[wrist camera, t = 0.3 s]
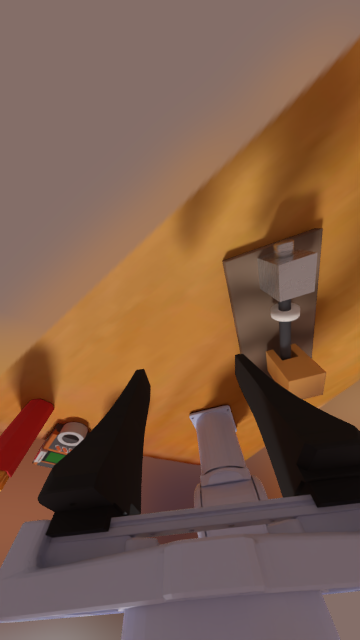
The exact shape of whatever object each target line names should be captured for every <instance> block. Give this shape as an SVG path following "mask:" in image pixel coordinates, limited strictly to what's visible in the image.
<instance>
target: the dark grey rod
mask: <svg viewBox="0 0 360 640" xmlns="http://www.w3.org/2000/svg"><path fill="white" fill-rule="evenodd" d="M270 310H271V317H272V318H273V319H274V320H277V321H279V335H280V358H281V360H286V359H290V358H291V321H293V320H295V319H297V318H298V317H299V316H300V307H299V305H297V304H295V303H291V299H288V300H285V301H282V302H279V301H278V304H275V305H273V306H272V307H271V309H270Z"/></svg>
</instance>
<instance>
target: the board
mask: <svg viewBox="0 0 360 640" xmlns="http://www.w3.org/2000/svg"><path fill="white" fill-rule="evenodd" d="M322 231H323V229H320V228H315V229H312V230H309V231H306V232H304V233H301V234H298V235H295V236H292V237H289V238H286V239H284V240H289V239H293V240H294V249H299V250H305V251H311V252H317V266H316V279H315V292H311V293H308V294H305V295H302V296H298V297H295V298H292V299H291V303H295V304H297V305H299V307H300V316H299V317H298V318H297V319H295V320H293V321H291V344H296V345H297V346H299V347H300V348H301V349H302V350H303V351H304V352H305V353H306V354H307V355H308V356H309V357H310V358H312V347H313V335H314V324H315V312H316V300H317V289H318V277H319V266H320V254H321V242H322ZM281 241H283V240H281ZM278 242H280V241H278ZM275 243H277V242H275ZM275 243H272V244H269V245H266V246H263V247H261V248H258V249H255V250H252V251H249V252H246V253H243V254H241V255H238V256H235V257H232V258H229V259H226V260H223V266H224V272H225V277H226V282H227V287H228V292H229V297H230V302H231V307H232V312H233V317H234V322H235V327H236V332H237V337H238V342H239V347H240V352H241V354H244V355H245V356H246V357H247V358H248V359H250V360H251V361H252V362H253V363H254V364H255V365H256V366H257V367H258V368H259V369H261V370H262V371H263V372H264V373H265V374H267V375H268V376H269V377H270V378H271V379H273V378H272V377H271V375H270V374H269V372H268V370H267V359H266V351H269V350H274V351H275V352H276V354H277V355H278V356H279V357H280V335H279V321H277V320H274V319H273V318H272V317H271V310H270V309H271V307H272V306H273V305H275V304H278V301H277V300H276V299H274V298H273V297H271V296H270V295H269V294H267V293H266V292H264V291H263V290H261V289H260V281H259V271H258V260H257V258H259V257H262V256H265V255H268V254H271V253H274V247H273V245H274V244H275ZM273 380H274V379H273Z"/></svg>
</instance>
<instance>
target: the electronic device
mask: <svg viewBox="0 0 360 640" xmlns="http://www.w3.org/2000/svg"><path fill="white" fill-rule="evenodd" d="M88 434H89V432H88V429H87V427H86V426H85V425H83V424H81V423H78V422H69V423H66V424H65V425H62V424H57V425H56V427H55V428H54V430H53V431H52V433H51V434H50V436H49V437H47V439H46V440H45V442H44V443H43V445H42V446H41V448H40V450H39V451H38V453H37V455H36V457H35V458H34V461H33V464H36V465H40V466H45V467H49V468H53V466H54V465H55V464H57V463H58V462H59V461H60V460H61V459H62V458H63V457H65V456H66V455H67V454H68V453H69V452H70V451H71V450H73V449H74V448H75V447H76V446H77V445H78V444H79V443H80V442H81V441H82V440H83V439H84V438H85V437H86V436H87V435H88Z"/></svg>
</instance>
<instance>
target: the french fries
mask: <svg viewBox="0 0 360 640" xmlns="http://www.w3.org/2000/svg"><path fill="white" fill-rule="evenodd" d="M53 410H54V407H53V405H52V403H49V402H47V401H44V400H42V399H34V400H31V401H30V402H29V403H28V404H27V405H26V406H25V407H24V408H23V409H22V411H21V412H20V413H19V414H18V415H17V417H16V418H15V419H14V420H13V421H12V423H11V424H10V425H9V426H8V427H7V429H6V430H5V431H4V432H3V433H2V435H1V436H0V491H1V490H2V489H3V487H4V485H5V484H6V482H7V480H8V478H9V477H12V475H13V473H14V472H15V470H16V468H17V467H18V465H19V464H20V462H21V461H22V459H23V458H24V456H25V454H26V453H27V451H28V450H29V448H30V446H31V445H32V443H33V442H34V440H35V439H36V437H37V435H38V434H39V432H40V431H41V429H42V428H43V426H44V424H45V423H46V421H47V420H48V418H49V416H50V415H51V413H52V412H53Z"/></svg>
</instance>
